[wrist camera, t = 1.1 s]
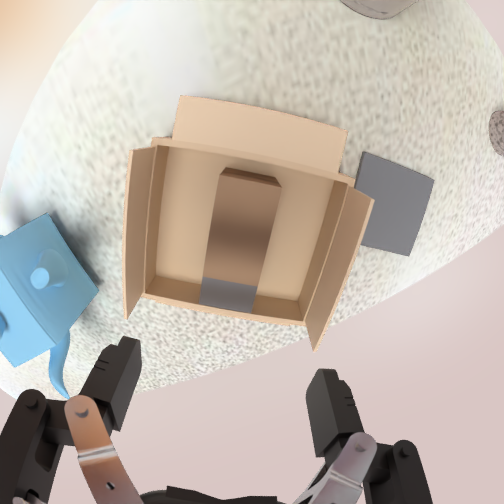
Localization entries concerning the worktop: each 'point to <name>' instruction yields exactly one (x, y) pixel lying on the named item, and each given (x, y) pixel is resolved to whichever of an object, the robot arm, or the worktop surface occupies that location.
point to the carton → (202, 202)
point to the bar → (238, 238)
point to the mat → (392, 203)
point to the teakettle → (40, 295)
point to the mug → (497, 131)
